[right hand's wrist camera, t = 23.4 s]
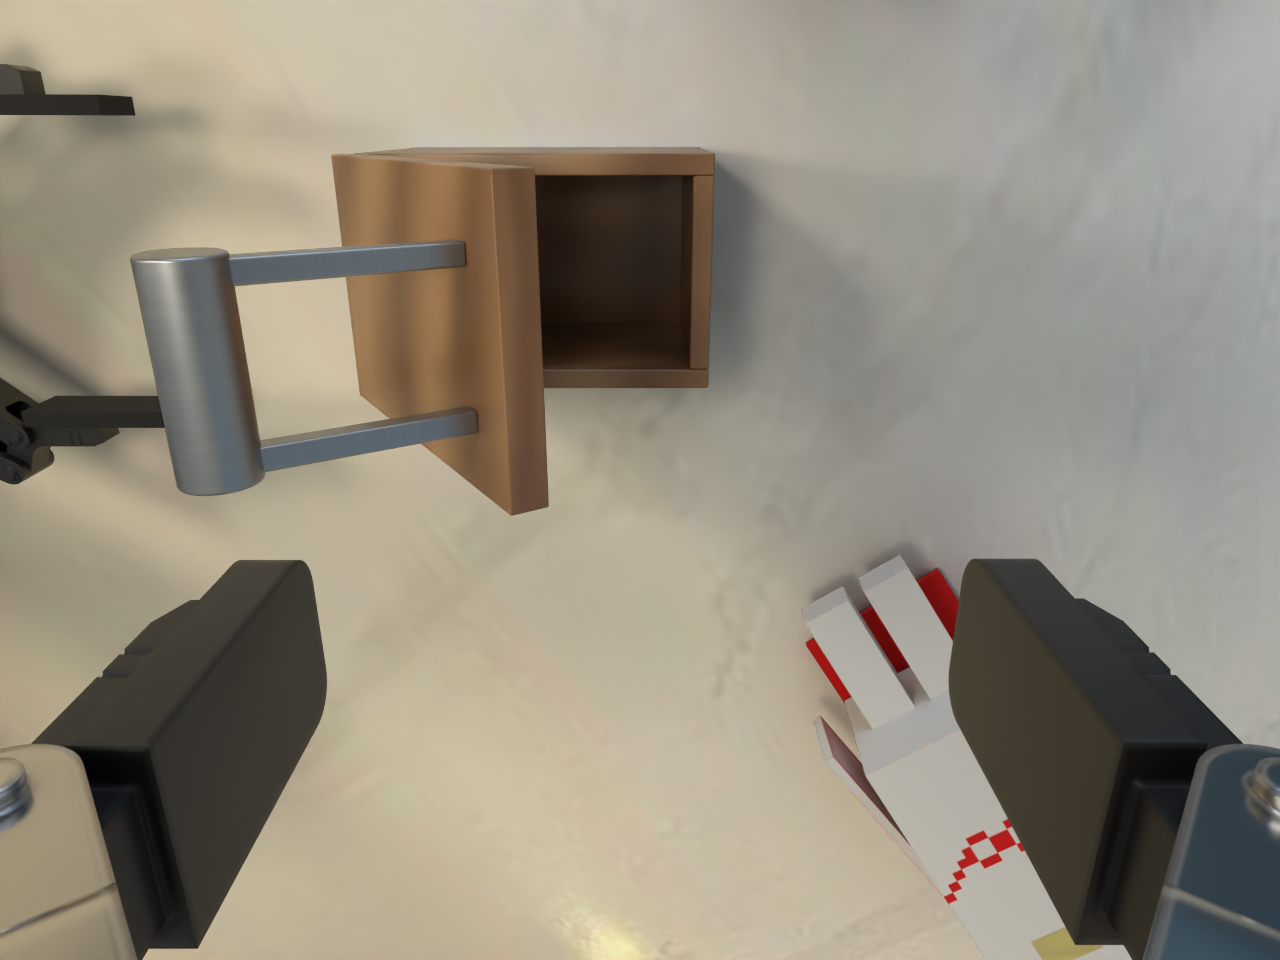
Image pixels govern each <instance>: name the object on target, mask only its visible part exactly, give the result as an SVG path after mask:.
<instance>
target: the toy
mask: <svg viewBox="0 0 1280 960" xmlns="http://www.w3.org/2000/svg"><path fill="white" fill-rule="evenodd" d="M858 580H859V582H860V584H861V587H862V589H863V591H864V593H865V595H866V596H867V598H868V600H869V601H870V603H871V604H872V606H870V607H868V608H866V609H865V610H863V611H861V612H859V611H858V610H857V608H856V606H855V605H854V603H853V602H852V600H851V599H850V597H849V595H848V594H847V592H846V591H845V589H844V587H843V586H842V587H840V588H838V589H836V590H834V591H832V592H831V593H829V594H827V595H825V596H823V597H822V598H820V599H818V600H816V601H814V602H812V603H811V604H809V605H807V606H805V607H803V608H801V609H802V613H803V617H804V622H805V625H806V626H807V628H808V629H809V631H810V632H811V634H812V636H813V637H814V638H813V639H811V640H810V641H808V642H806V645H807V647H808V649H809V650H810V652H811V653H812V655H813V656H814V658H815V659H816V661H817V662H818V664H819V665H820V667H821V668H822V670H823V671H824V673H825V674H826V676H827V677H828V679H829V680H830V682H831V683H832V685H833V686H834V688H835V689H836V691H837V692H838V694H839V695H840V697H841V698H842V700H843V701H844V703H845V705H846V708H847V712H848V715H849V719H850V722H851V726H852V730H853V733H854V737H855V740H856V744H857V747H858V751H859V755H860V758H861V762H862V763H861V762H860V761H859V760H858V759H857V758H856V756H855V755H854V754H853V753H852V752H851V751H850V750H849V748H848V747H847V746H846V745H845V744H844V743H843V741H842V740H841V739H840V738H839V737H838V736H837V734H836V733H835V732H834V731H833V730H832V729H831V727H830V726H829V725H828V724H827V723H826V722H825V721H824V719H823V718H822V717H821V716H818V717H817V718H815V719H814V720H813V723H814V726H815V730H816V733H817V736H818V740H819V743H820V746H821V750H822V753H823V756H824V760H825V763H826V764H827V765H828V766H829V767H830V768H831V769H832V771H833V772H834V773H835V774H836V775H837V776H838V777H839V779H840V780H841V781H842V782H843V783H844V784H845V785H846V787H847V788H848V789H849V790H850V791H851V792H852V793H853V795H854V796H855V797H856V798H857V799H858V800H859V801H860V803H861V804H862V805H863V806H864V807H865V808H866V809H867V811H868V812H869V813H870V814H871V815H872V816H873V817H874V819H875V820H876V821H877V822H878V823H879V824H880V825H881V827H882V828H883V829H884V830H885V831H886V832H887V833H888V835H889V836H890V837H891V838H892V839H893V840H894V841H895V843H896V844H897V845H898V846H899V847H900V848H901V849H902V851H903V852H904V853H905V854H906V855H907V856H908V857H909V859H910V860H911V861H912V862H913V863H914V864H915V865H916V867H917V868H918V869H919V870H920V871H921V872H922V873H923V875H924V876H925V877H926V878H927V879H928V880H929V881H930V883H931V884H932V885H933V886H934V887H935V888H936V889H937V891H938V892H939V893H940V894H941V895H943V896H944V898H945V899H946V901H947V902H948V904H949V905H950V907H951V908H952V910H953V911H954V913H955V914H956V916H957V918H958V919H959V921H960V922H961V924H962V925H963V927H964V928H965V930H966V931H967V933H968V934H969V936H970V938H971V939H972V941H973V942H974V944H975V945H976V947H977V948H978V950H979V951H980V953H981V954H982V956H983V958H984V959H985V960H1132V959H1131V957H1130V955H1129V953H1128V952H1127V950H1126V948H1125V947H1124V945H1075V944H1074V942H1073V940H1072V938H1071V936H1070V935H1069V933H1068V931H1067V929H1066V927H1065V925H1064V923H1063V921H1062V920H1061V918H1060V916H1059V914H1058V912H1057V910H1056V908H1055V906H1054V905H1053V903H1052V901H1051V899H1050V897H1049V895H1048V893H1047V891H1046V889H1045V888H1044V886H1043V884H1042V882H1041V880H1040V878H1039V876H1038V874H1037V873H1036V871H1035V869H1034V867H1033V865H1032V863H1031V861H1030V859H1029V858H1028V856H1027V854H1026V852H1025V850H1024V848H1023V846H1022V844H1021V843H1020V841H1019V839H1018V837H1017V835H1016V833H1015V831H1014V829H1013V827H1012V826H1011V824H1010V822H1009V820H1008V818H1007V816H1006V814H1005V812H1004V811H1003V809H1002V807H1001V805H1000V803H999V801H998V799H997V797H996V796H995V794H994V792H993V790H992V788H991V786H990V784H989V782H988V781H987V779H986V777H985V775H984V773H983V771H982V769H981V767H980V765H979V764H978V762H977V760H976V758H975V756H974V754H973V752H972V750H971V749H970V747H969V745H968V743H967V741H966V739H965V737H964V735H963V734H962V732H961V730H960V728H959V726H958V724H957V722H956V720H955V717H954V714H953V711H952V707H951V702H950V696H949V682H948V678H949V666H950V659H951V652H952V645H953V639H954V632H955V625H956V618H957V612H958V605H959V601H958V600H957V598H956V597H955V595H954V593H953V592H952V590H951V589H950V587H949V585H948V584H947V582H946V581H945V579H944V578H943V576H942V574H941V573H940V571H939V570H938V568H937V569H935V570H934V571H932V572H930V573H928V574H927V575H925V576H923V577H921V578H919V579H918V580H915V578H914V576H913V575H912V573H911V571H910V570H909V568H908V567H907V565H906V563H905V562H904V560H903V558H902V557H901V555H898V556H897V557H895V558H893V559H891V560H889V561H887V562H886V563H884V564H882V565H880V566H878V567H876V568H875V569H873V570H871V571H869V572H867V573H865V574H864V575H862V576H860V577H858Z"/></svg>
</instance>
